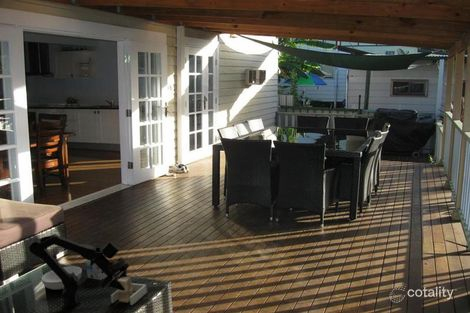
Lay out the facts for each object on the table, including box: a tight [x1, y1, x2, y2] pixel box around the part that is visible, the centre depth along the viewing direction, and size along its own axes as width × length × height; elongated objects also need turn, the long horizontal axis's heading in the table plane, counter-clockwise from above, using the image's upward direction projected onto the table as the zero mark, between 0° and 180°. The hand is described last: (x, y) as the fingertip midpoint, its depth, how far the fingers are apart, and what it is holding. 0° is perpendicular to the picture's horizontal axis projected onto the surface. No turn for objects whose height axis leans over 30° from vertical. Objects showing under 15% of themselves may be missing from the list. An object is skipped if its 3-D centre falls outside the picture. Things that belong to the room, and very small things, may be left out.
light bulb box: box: [85, 259, 107, 281], centre depth 264 cm, size 11×7×11 cm, turn 62°
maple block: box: [117, 276, 133, 303], centre depth 232 cm, size 5×5×11 cm
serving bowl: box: [41, 265, 83, 290], centre depth 257 cm, size 21×21×7 cm
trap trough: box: [110, 282, 149, 306], centre depth 235 cm, size 14×12×4 cm
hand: (127, 287), depth 231 cm, fingers closed on maple block, 5 cm apart
